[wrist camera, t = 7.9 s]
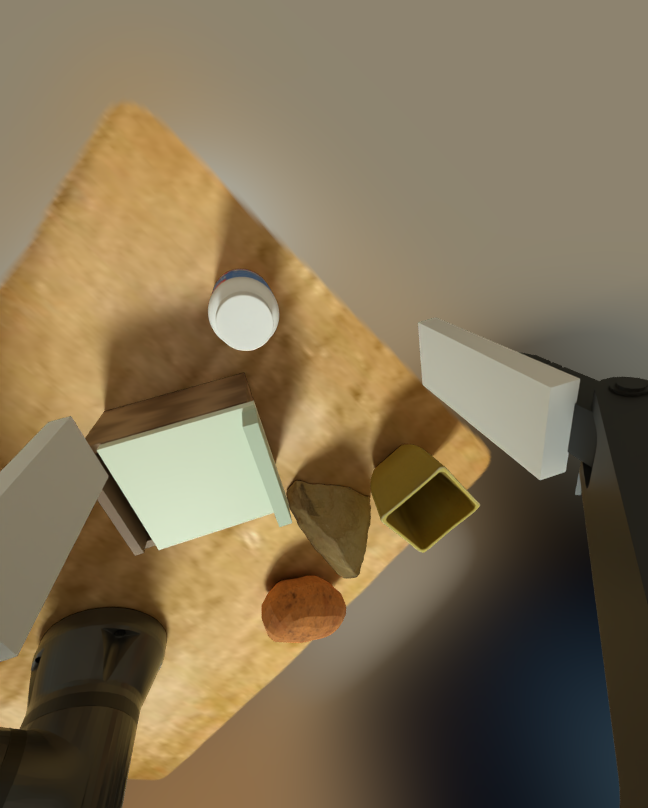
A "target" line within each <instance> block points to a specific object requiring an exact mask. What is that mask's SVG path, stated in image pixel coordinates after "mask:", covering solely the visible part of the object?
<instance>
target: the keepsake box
mask: <svg viewBox="0 0 648 808" xmlns="http://www.w3.org/2000/svg"><path fill="white" fill-rule="evenodd" d="M251 401H254V400H253V397H252V394H251V391H250V388H249V385H248V382H247V379H246V376H245V373H241V374H237V375H234V376H230V377H227V378H223V379H219V380H216V381H212V382H209V383H205V384H201V385H198V386H194V387H191V388H187V389H183V390H180V391H176V392H173V393H169V394H165V395H162V396H158V397H155V398H151V399H147V400H144V401H140V402H137V403H133V404H129V405H126V406H122V407H119V408H115V409H111V410H108V411H104V413H103V414H102V415H101V417H100V418H99V420H98V421H97V422H96V424H95V425H94V427H93V428H92V429H91V431H90V432H89V434H88V435H87V436H86V438H85V439H86V441H87V442H88V444H89V446H90V447H91V449H92V450H93V452H94V454H95V455H96V457H97V458H98V460H99V462H100V463H101V465H102V466H103V468H104V470H105V471H106V473H107V474H108V476H109V477H108V479H107V481H106V483H105V485H104V487H103V489H102V491H101V492H100V494H99V496H98V498H97V500H98V502H99V503H100V505H101V506H102V508H103V509H104V511H105V512H106V514H107V515H108V516H109V518H110V519H111V521H112V522H113V524H114V525H115V527H116V528H117V530H118V531H119V533H120V534H121V536H122V537H123V539H124V540H125V542H126V543H127V545H128V546H129V548H130V549H131V550H132V552H133V553H134V555H135V556H136V555H139V554H142V553H144V551H145V549H146V548H149V547H152V546H155V543H154V542H153V540H152V538H151V537H150V535H149V534H148V532H147V530H146V529H145V527H144V526H143V524H142V522H141V521H140V519H139V518H138V516H137V514H136V513H135V511H134V509H133V508H132V506H131V505H130V503H129V501H128V500H127V498H126V497H125V495H124V493H123V492H122V490H121V489H120V487H119V485H118V484H117V482H116V481H115V479H114V477H113V476H112V474H111V473H110V471H109V469H108V468H107V466H106V465H105V463H104V461H103V460H102V458H101V456H100V455H99V453H98V452H97V449H98V447H99V445H101V444H105V443H108V442H112V441H115V440H119V439H122V438H125V437H129V436H132V435H136V434H139V433H143V432H146V431H150V430H153V429H157V428H160V427H164V426H167V425H171V424H174V423H178V422H181V421H185V420H188V419H192V418H195V417H198V416H202V415H205V414H209V413H212V412H216V411H219V410H223V409H226V408H230V407H233V406H237V405H240V404H244V403H247V402H251Z"/></svg>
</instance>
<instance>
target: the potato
mask: <svg viewBox="0 0 648 808" xmlns="http://www.w3.org/2000/svg"><path fill="white" fill-rule="evenodd" d="M345 615H346V605H345V602H344V600H343V597H342V595H341V593H340V592H339V591H337V590H336V589H335V588H334V587H333V586H332V585H331V584H330V583H329V582H328V581H326V580H324V579H322V578H320V577H317V576H315V575H313V576H304V577H300V578H296V579H288V580H282V581H280V582H278V583H277V584H276V585H275V586H274V587H273V588H272V589H271V591H270V592H269V593H268V595H267V596H266V598H265V600H264V602H263V604H262V621H263V623H264V626H265V629H266V631H267V634H268V636H269V637H270V638H271V639H272V640H273V641H275V642H288V643H303V642H307V641H311V640H315V639H320V638H324V637H327V636H329V635H331V634H332V633H334V632H335V631H336V630H337V629H338V628H339V626H340V625H341V623H342V622H343V619H344V617H345Z"/></svg>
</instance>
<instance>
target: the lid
mask: <svg viewBox="0 0 648 808" xmlns="http://www.w3.org/2000/svg"><path fill="white" fill-rule="evenodd" d="M97 452H98V453H99V455H100V456H101V458H102V460H103V461H104V463H105V465H106V466H107V468H108V469H109V471H110V473H111V474H112V476H113V477H114V479H115V481H116V482H117V484H118V485H119V487H120V489H121V490H122V492H123V493H124V495H125V497H126V498H127V500H128V501H129V503H130V505H131V506H132V508H133V509H134V511H135V513H136V514H137V516H138V518H139V519H140V521H141V522H142V524H143V526H144V527H145V529H146V530H147V532H148V534H149V535H150V537H151V538H152V540H153V542H154V543H155V545H156V546H157V548H158V550H161V549H164V548H167V547H170V546H173V545H176V544H179V543H182V542H186V541H189V540H192V539H195V538H198V537H201V536H204V535H207V534H210V533H213V532H216V531H219V530H222V529H225V528H229V527H232V526H235V525H238V524H241V523H244V522H247V521H250V520H253V519H256V518H259V517H262V516H265V515H268V514H272V513H274V514H275V516H276V519H277V522H278V524H279V527H282V526H285V525H288V524H291V523H292V520H291V515H290V510H289V503H288V500H287V497H286V494H285V491H284V488H283V485H282V482H281V479H280V476H279V473H278V470H277V467H276V464H275V462H274V459H273V456H272V453H271V450H270V447H269V444H268V441H267V438H266V435H265V432H264V429H263V426H262V423H261V420H260V417H259V414H258V411H257V408H256V405H255V402H254V401H251V402H247V403H244V404H240V405H237V406H233V407H230V408H226V409H223V410H219V411H216V412H212V413H209V414H205V415H202V416H198V417H195V418H192V419H188V420H185V421H181V422H178V423H174V424H171V425H167V426H164V427H160V428H157V429H153V430H150V431H146V432H143V433H139V434H136V435H132V436H129V437H125V438H122V439H119V440H115V441H112V442H108V443H105V444H101V445H99V447H98V449H97Z"/></svg>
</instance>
